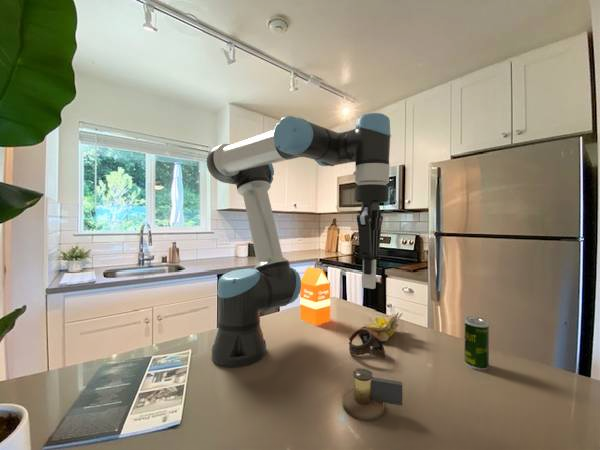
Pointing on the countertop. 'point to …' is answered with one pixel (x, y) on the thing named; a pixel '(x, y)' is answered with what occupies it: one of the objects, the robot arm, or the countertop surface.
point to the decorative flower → (383, 325)
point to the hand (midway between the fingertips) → (368, 287)
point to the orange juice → (315, 297)
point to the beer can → (477, 343)
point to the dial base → (361, 408)
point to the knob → (375, 388)
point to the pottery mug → (365, 342)
